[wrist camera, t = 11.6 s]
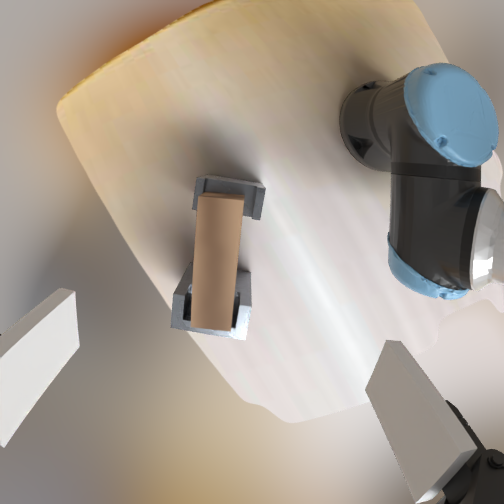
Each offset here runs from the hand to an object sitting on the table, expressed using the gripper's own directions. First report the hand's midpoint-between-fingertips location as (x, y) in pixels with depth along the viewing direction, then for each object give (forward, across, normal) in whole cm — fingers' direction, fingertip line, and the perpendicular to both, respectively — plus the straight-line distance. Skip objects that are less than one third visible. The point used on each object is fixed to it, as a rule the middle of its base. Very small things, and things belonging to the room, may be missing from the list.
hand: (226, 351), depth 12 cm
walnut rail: (+30, -2, -5) cm, 30 cm away
